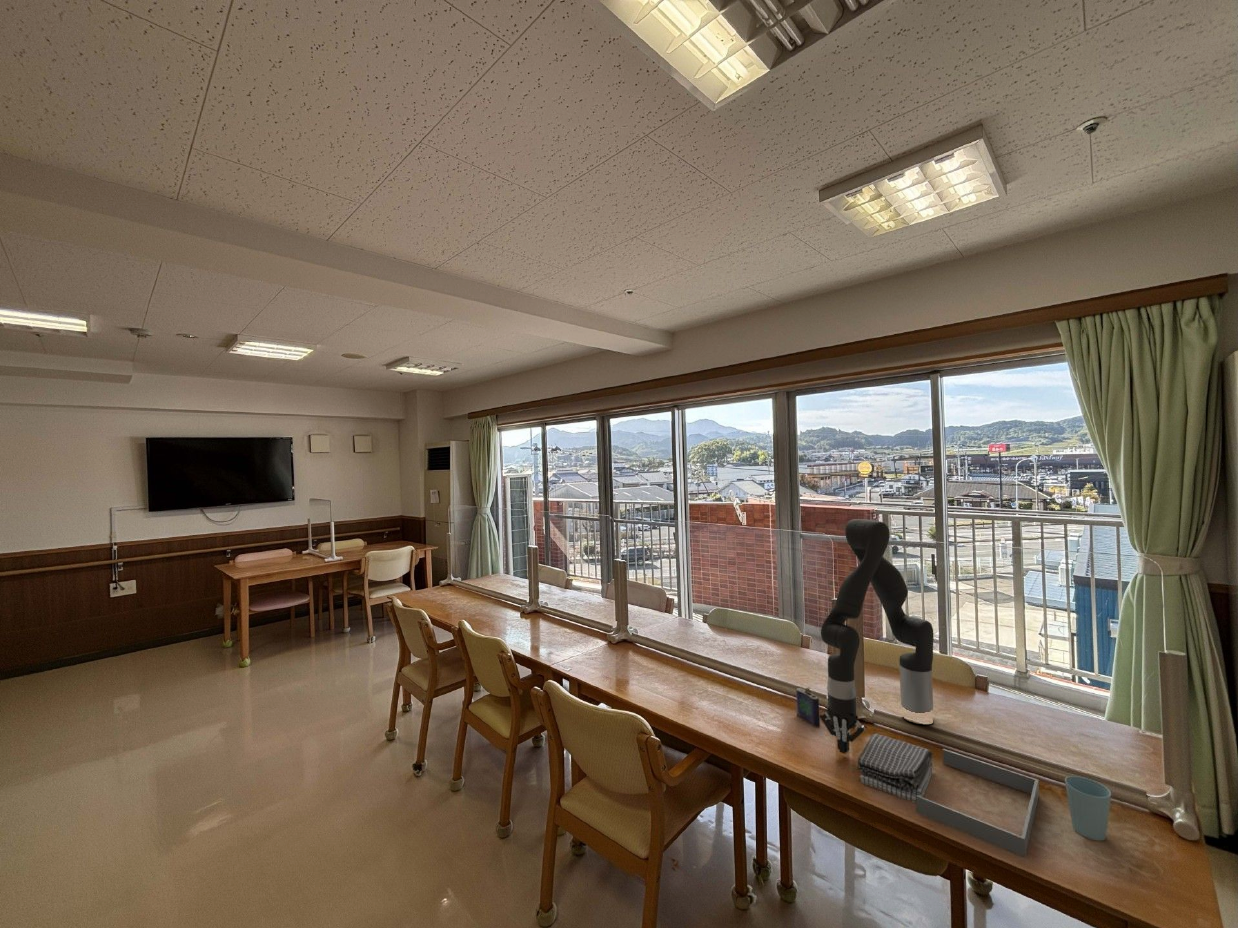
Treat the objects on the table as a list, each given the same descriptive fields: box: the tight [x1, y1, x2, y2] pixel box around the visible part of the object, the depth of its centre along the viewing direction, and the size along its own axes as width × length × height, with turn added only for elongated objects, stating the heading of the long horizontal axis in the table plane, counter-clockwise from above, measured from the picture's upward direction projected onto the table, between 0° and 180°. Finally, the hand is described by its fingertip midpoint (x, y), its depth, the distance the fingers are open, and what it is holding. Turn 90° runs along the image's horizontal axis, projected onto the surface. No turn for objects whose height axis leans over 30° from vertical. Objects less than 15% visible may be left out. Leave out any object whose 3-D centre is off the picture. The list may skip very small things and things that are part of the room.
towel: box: [856, 733, 934, 804], centre depth 135 cm, size 15×18×8 cm
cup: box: [1064, 775, 1112, 842], centre depth 113 cm, size 8×8×10 cm
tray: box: [915, 748, 1040, 858], centre depth 123 cm, size 27×21×4 cm
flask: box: [795, 687, 821, 728], centre depth 165 cm, size 9×3×11 cm, turn 24°
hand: (843, 751), depth 145 cm, fingers closed
